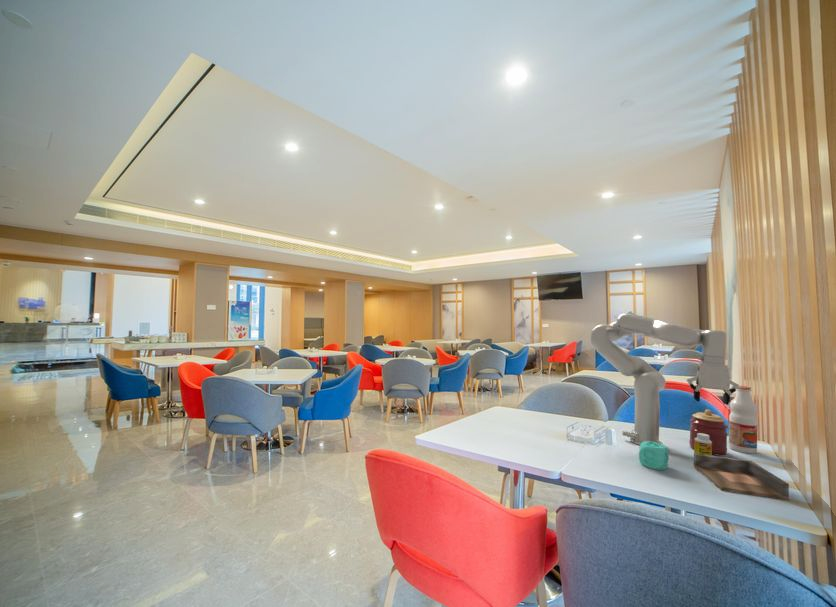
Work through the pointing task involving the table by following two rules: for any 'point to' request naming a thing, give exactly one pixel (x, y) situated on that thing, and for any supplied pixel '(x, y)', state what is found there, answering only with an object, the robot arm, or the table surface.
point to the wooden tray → (741, 476)
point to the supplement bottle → (702, 444)
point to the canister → (710, 430)
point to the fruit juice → (743, 422)
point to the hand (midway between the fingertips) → (711, 402)
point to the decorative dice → (653, 455)
